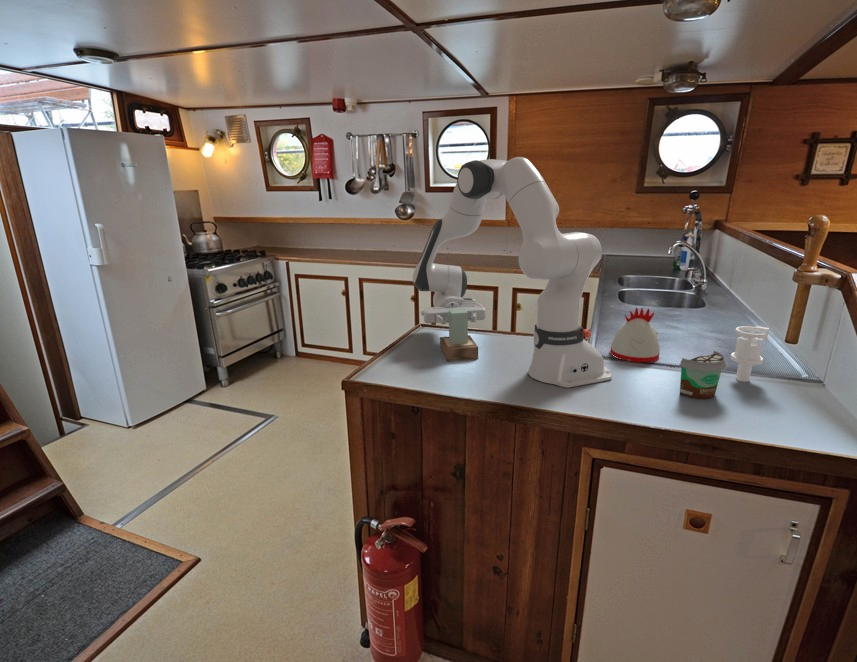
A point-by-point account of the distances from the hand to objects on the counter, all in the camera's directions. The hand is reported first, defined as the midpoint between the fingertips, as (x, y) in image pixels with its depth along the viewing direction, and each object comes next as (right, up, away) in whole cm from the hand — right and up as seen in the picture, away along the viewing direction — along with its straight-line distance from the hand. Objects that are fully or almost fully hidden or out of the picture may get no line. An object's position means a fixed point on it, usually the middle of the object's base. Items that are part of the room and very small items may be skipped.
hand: (458, 320), depth 148 cm
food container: (+59, -20, -29) cm, 69 cm away
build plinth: (0, -10, +4) cm, 11 cm away
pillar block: (0, -6, +3) cm, 7 cm away
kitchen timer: (+54, -11, 0) cm, 55 cm away
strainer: (+75, -16, -20) cm, 79 cm away
